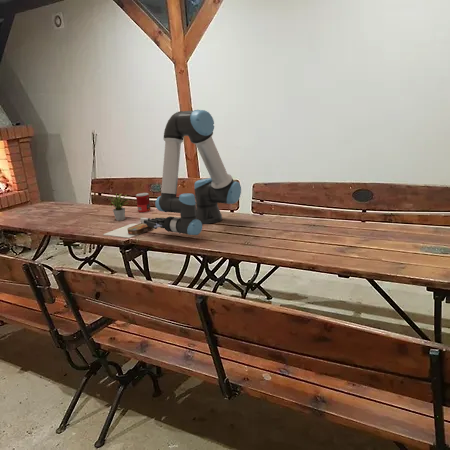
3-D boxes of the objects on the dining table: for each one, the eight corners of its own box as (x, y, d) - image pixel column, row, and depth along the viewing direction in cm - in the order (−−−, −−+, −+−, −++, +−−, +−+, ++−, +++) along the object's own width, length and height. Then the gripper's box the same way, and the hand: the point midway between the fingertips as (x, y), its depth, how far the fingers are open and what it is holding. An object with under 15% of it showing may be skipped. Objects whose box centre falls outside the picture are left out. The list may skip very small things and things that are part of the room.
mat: (157, 226, 248) (157, 226, 248) (129, 238, 230) (128, 237, 230) (132, 224, 258) (132, 223, 258) (103, 235, 241) (102, 234, 241)
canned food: (150, 211, 285) (148, 194, 282) (137, 213, 284) (135, 195, 281) (151, 209, 292) (149, 192, 289) (138, 210, 292) (136, 193, 289)
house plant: (115, 224, 261) (111, 196, 257) (102, 221, 271) (98, 194, 266) (135, 218, 271) (132, 191, 267) (122, 215, 280) (118, 189, 276)
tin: (134, 231, 232) (123, 228, 237) (135, 236, 233) (124, 233, 238) (156, 223, 243) (145, 220, 248) (156, 229, 244) (145, 226, 249)
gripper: (166, 235, 220) (133, 230, 234) (184, 228, 230) (151, 224, 244) (164, 220, 218) (131, 216, 232) (182, 214, 228) (149, 210, 242)
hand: (141, 220), depth 238 cm, fingers closed
